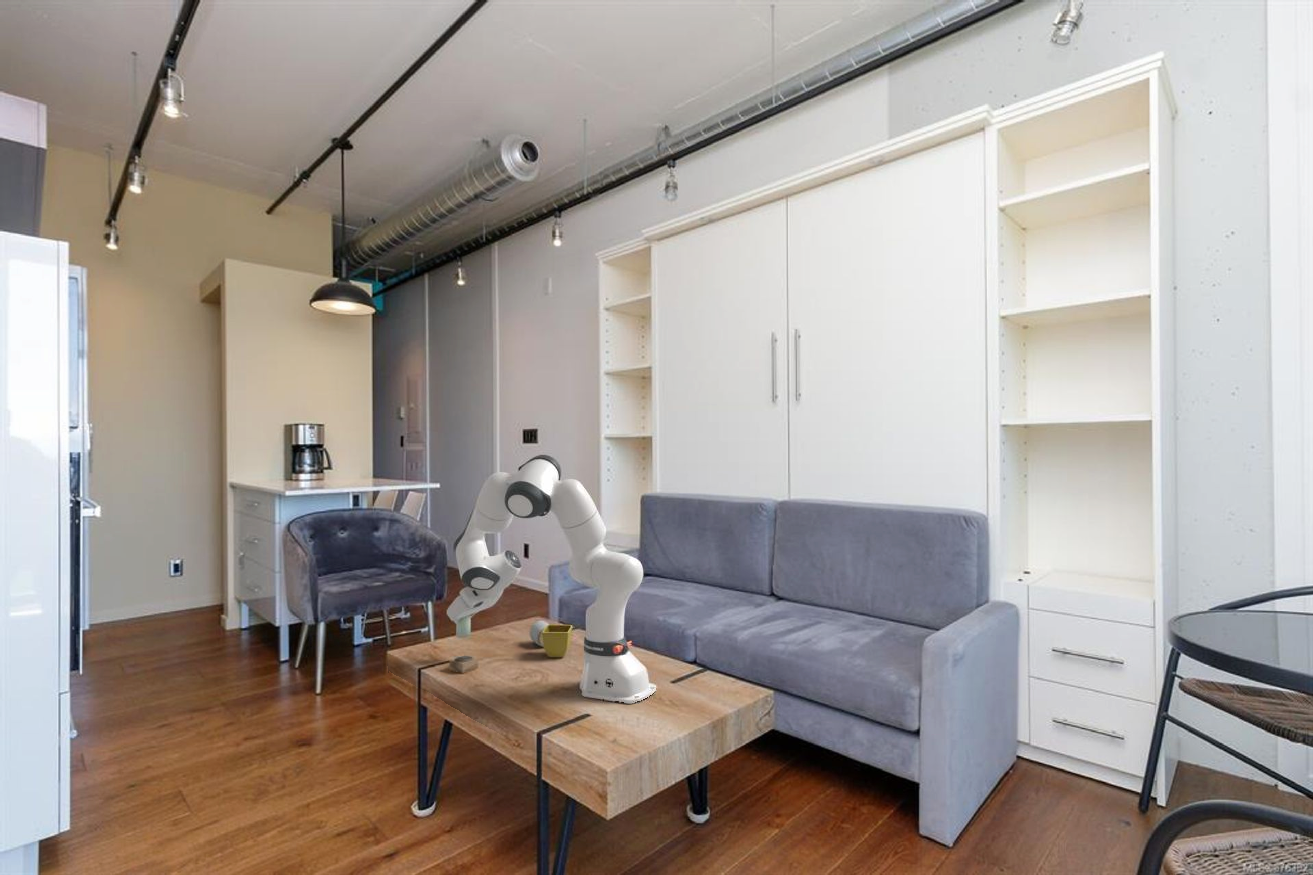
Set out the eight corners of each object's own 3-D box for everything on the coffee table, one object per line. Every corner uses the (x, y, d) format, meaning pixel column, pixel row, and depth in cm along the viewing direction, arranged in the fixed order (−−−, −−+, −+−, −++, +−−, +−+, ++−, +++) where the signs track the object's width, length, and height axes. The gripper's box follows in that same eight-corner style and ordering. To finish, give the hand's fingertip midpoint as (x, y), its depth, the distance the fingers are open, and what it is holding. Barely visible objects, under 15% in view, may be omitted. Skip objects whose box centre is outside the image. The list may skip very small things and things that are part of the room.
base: (477, 668, 201) (477, 658, 201) (462, 673, 196) (462, 663, 196) (464, 664, 204) (464, 654, 204) (449, 670, 199) (449, 659, 199)
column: (473, 635, 209) (473, 601, 209) (462, 638, 205) (462, 604, 205) (464, 633, 211) (464, 600, 211) (453, 636, 208) (453, 602, 208)
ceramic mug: (537, 650, 220) (538, 627, 220) (529, 643, 227) (529, 621, 227) (566, 645, 225) (566, 623, 225) (557, 639, 232) (557, 618, 232)
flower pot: (568, 660, 209) (568, 632, 209) (541, 659, 209) (541, 632, 210) (572, 651, 218) (572, 624, 218) (546, 651, 218) (546, 624, 218)
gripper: (500, 577, 215) (477, 603, 219) (457, 590, 196) (433, 619, 200) (511, 591, 213) (488, 618, 217) (469, 606, 194) (444, 635, 198)
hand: (461, 618), depth 208 cm, fingers closed on column, 4 cm apart
